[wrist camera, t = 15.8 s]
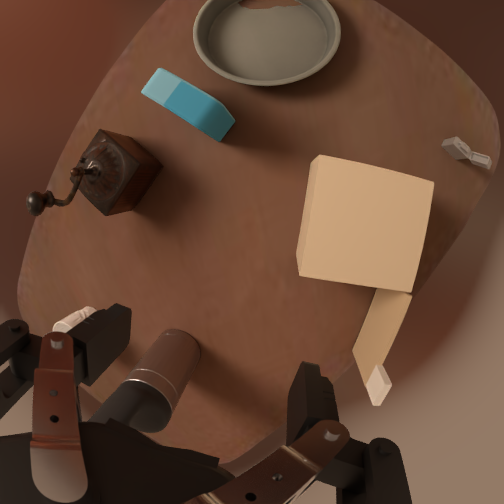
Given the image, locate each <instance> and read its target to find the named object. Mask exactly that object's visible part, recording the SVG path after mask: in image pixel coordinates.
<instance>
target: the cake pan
mask: <svg viewBox="0 0 504 504" xmlns="http://www.w3.org/2000/svg"><path fill="white" fill-rule="evenodd" d="M239 1H242V0H208V1H207V2H206V3H205V4H204V6H203V7H202V8H201V10H200V11H199V13H198V15H197V17H196V20H195V23H194V28H193V39H194V44H195V48H196V50H197V52H198V54H199V56H200V57H201V59H202V60H203V61H204V62H205V63H206V65H207V66H208V67H210V68H211V69H212V70H214V71H215V72H216V73H218V74H220V75H222V76H224V77H226V78H228V79H230V80H233V81H236V82H239V83H244V84H249V85H257V86H275V85H283V84H288V83H292V82H296V81H299V80H301V79H304V78H306V77H308V76H311V75H312V74H314V73H316V72H318V71H319V70H320V69H321V68H323V67H324V66H325V65H326V64H327V63H328V62H329V61H330V60H331V59H332V57H333V56H334V54H335V53H336V51H337V49H338V46H339V43H340V38H341V26H340V22H339V18H338V16H337V14H336V12H335V10H334V9H333V7H332V6H331V5H330V3H329V2H328V1H327V0H295V1H297V2H299V3H301V4H303V5H299V6H294V7H293V6H287V7H281V6H275V7H273V8H270V9H248V8H246V7H244V8H243V7H242V6H241V5H240V4H239V3H238V2H239ZM233 4H234V5H233ZM230 6H231V7H230Z"/></svg>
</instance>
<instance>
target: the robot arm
mask: <svg viewBox="0 0 504 504" xmlns="http://www.w3.org/2000/svg"><path fill="white" fill-rule="evenodd" d="M131 315H132V311H131V309H130V308H127V307H125V306H122V305H120V304H117V303H116V304H114V305H113V306H111V307H110V308H109V309H107V310H105V309H102V310H99V311H96V312H94V313H92V314H91V315H89V316H88V318H85V319H84V320H83V321H81V322H80V323H78V324H77V325H76V326H74V327H73V328H72V329H70V330H69V331H67V332H66V333H64V332H59V331H54V332H49V333H47V334H45V335H44V336H43V337H40V336H37V335H34V334H30V332H29V326H28V324H27V323H26V322H25V321H23V320H19V319H11V320H8V321H6V322H4V323H3V324H1V325H0V366H1V365H2V364H4V363H5V362H6V361H7V360H8V361H9V364H10V365H9V366H8V367H7V368H6V369H5V370H4V371H2V372H1V373H0V419H1V418H2V417H3V416H4V415H5V414H6V413H7V412H8V411H9V410H10V408H11V407H12V406H13V405H14V404H15V403H16V402H17V401H18V400H19V399H20V398H21V397H22V396H23V395H24V394H25V393H26V392H27V391H28V390H29V389H30V388H31V387H32V386H33V406H32V432H28V433H21V434H15V435H8V436H0V504H292V503H294V502H295V501H296V500H297V499H298V498H299V497H300V496H301V495H302V494H303V493H304V492H306V491H307V490H308V489H309V488H310V487H311V486H312V485H313V484H314V483H315V482H316V481H317V480H318V481H321V482H323V483H326V484H329V485H332V486H335V487H336V501H337V502H336V503H337V504H412V500H411V495H410V491H409V486H408V482H407V477H406V473H405V469H404V465H403V461H402V457H401V453H400V450H399V448H398V446H397V445H396V444H395V443H394V442H392V441H391V440H389V439H386V438H376V439H373V440H372V441H371V442H370V443H369V444H366V443H363V442H360V441H357V440H355V439H352V438H351V437H350V434H349V431H348V429H347V428H346V427H345V426H344V425H343V424H341V423H340V422H339V416H338V411H337V405H336V401H335V395H334V389H333V385H332V383H331V382H330V381H329V379H328V378H327V377H322V376H321V374H320V367H319V365H318V364H313V363H309V362H304V361H303V362H302V363H301V364H300V367H299V369H298V371H297V374H296V376H295V378H294V381H293V383H292V385H291V388H290V391H289V395H288V408H287V439H286V445H284V446H282V447H280V448H279V449H277V450H276V451H275V452H273V453H272V454H270V455H269V456H268V457H266V458H265V459H263V460H262V461H260V462H259V463H257V464H256V465H255V466H253V467H252V468H250V469H248V470H247V471H245V472H244V473H242V474H241V475H239V476H238V477H235V476H234V475H232V474H231V473H230V472H228V471H227V470H225V469H223V468H221V467H220V466H218V463H219V459H220V458H217V457H213V456H210V455H206V454H203V453H200V452H196V451H193V450H188V449H180V448H173V447H167V446H161V445H159V444H156V443H155V442H153V441H152V440H151V439H149V438H147V437H146V436H144V435H143V434H141V433H140V432H138V431H137V430H139V431H142V432H147V433H155V432H159V431H161V430H163V429H164V428H165V427H166V426H167V424H168V422H169V420H170V418H171V416H172V414H173V412H174V410H175V408H176V406H177V403H178V401H179V399H180V397H181V395H182V393H183V391H184V389H185V387H186V385H187V383H188V381H189V379H190V377H191V375H192V373H193V371H194V369H195V367H196V365H197V363H198V361H199V359H200V348H199V346H198V344H197V342H196V341H195V340H194V338H193V337H191V336H190V335H189V334H187V333H185V332H183V331H180V330H175V329H174V330H167V331H165V332H163V333H162V334H161V335H160V336H159V337H158V339H157V340H156V341H155V342H154V343H153V345H152V346H151V347H150V348H149V350H148V351H147V352H146V353H145V355H144V356H143V357H142V358H141V360H140V361H139V362H138V363H137V365H136V366H135V367H134V368H133V370H132V371H131V372H130V373H129V375H128V376H127V377H126V378H125V380H124V381H123V382H122V384H121V385H120V386H119V387H118V388H117V390H116V391H115V392H114V393H113V394H112V395H111V396H110V397H109V398H108V399H107V400H106V401H105V402H104V403H103V404H102V406H101V407H100V408H99V409H98V410H97V411H96V413H95V414H94V415H93V416H92V417H91V418H90V419H89V420H88V421H87V422H82V416H81V409H80V400H79V390H78V385H79V384H80V383H81V382H82V383H84V384H86V385H88V386H89V387H90V386H91V385H92V384H93V383H94V382H95V381H96V380H97V379H98V377H99V376H100V375H101V374H102V373H103V372H104V371H105V370H106V369H107V368H108V367H109V366H110V364H111V363H112V362H113V361H114V360H115V359H116V358H117V357H118V356H119V355H120V354H121V353H122V352H123V351H124V350H125V348H126V347H127V345H128V343H129V340H130V329H131Z"/></svg>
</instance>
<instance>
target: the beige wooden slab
mask: <svg viewBox="0 0 504 504" xmlns="http://www.w3.org/2000/svg"><path fill="white" fill-rule="evenodd" d="M411 299H412V296H411V295H410V294H409V293H408V292H404V291H397V290H390V289H383V288H377V290H376V292H375V295H374V298H373V300H372V303H371V306H370V308H369V311H368V314H367V316H366V319H365V321H364V324H363V326H362V328H361V331H360V333H359V336H358V338H357V340H356V343H355V345H354V347H353V350H352V351H353V354H354V356H355V359H356V362H357V365H358V368H359V370H360V373H361V376H362V379H363V382H364V385H365V387H366V388H367V390H368V393H369V395H370V399H371V401H372V405H375V406H380V405H381V403H382V401H383V399H384V398H385V396H386V394H387V393H388V391H389V390H390V388H391V386H392V384H391V382H390V379H389V377H388V375H387V373H386V371H385V369H384V367H383V366H382V364H383V362H384V360H385V358H386V356H387V354H388V352H389V350H390V348H391V346H392V344H393V341H394V339H395V337H396V335H397V333H398V330H399V328H400V326H401V323H402V321H403V319H404V316H405V314H406V311H407V309H408V306H409V304H410V301H411Z"/></svg>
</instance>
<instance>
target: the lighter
mask: <svg viewBox="0 0 504 504" xmlns="http://www.w3.org/2000/svg"><path fill="white" fill-rule="evenodd" d="M441 146H442V147H443V148H444V149H445V150H446V151H447V152H448V153H449V154H450V155H451V156H452V157H453V158H454V159H456V160H458V159H467V158H469V159H470V161H471V163H472V164H474V165H478V166H481V167H483V168H486V169H490V166H491V164H492V161H491V159H490V157H489V156H486V155H483V154H479V153H476V152H472V151H471V150H470V148H469V147H468V146H467V145H466V144H465V143H464V142H462V141H461V140H460V139H459V138H458V137H453V138H449V139H445V140H444V141H443V143H442V145H441Z"/></svg>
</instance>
